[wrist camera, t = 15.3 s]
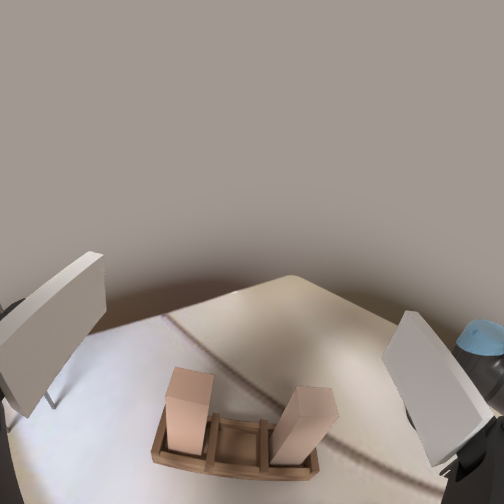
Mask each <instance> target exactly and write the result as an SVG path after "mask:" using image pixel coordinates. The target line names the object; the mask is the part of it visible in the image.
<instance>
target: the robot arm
mask: <svg viewBox="0 0 504 504" xmlns="http://www.w3.org/2000/svg"><path fill="white" fill-rule="evenodd" d="M106 310H107V309H106V297H105V282H104V255H102V254H98V253H94V252H90V251H89V252H87V253H86V254H84V255H83V256H81V257H80V258H79V259H77V260H76V261H74V262H73V263H72V264H70V265H69V266H68V267H66V268H65V269H63V270H62V271H61V272H59V273H58V274H57V275H55V276H54V277H53V278H52V279H50V280H49V281H48V282H46V283H45V284H44V285H42V286H41V287H40V288H39V289H38V290H36V291H35V292H34V293H32V294H31V295H30V296H29V297H28V298H26V299H25V298H24V299H22V300H19V301H17V302H15V303H13V304H12V305H10V306H9V307H8V308H7V309H6V310H4V313H1V314H0V504H24V501H23V498H22V495H21V492H20V489H19V485H18V482H17V478H16V475H15V471H14V467H13V462H12V458H11V453H10V448H9V442H8V436H7V430H6V422H5V413H4V407H3V404H2V402H1V401H2V400H3V398H4V397H5V398H6V399H7V401H8V402H9V404H10V406H11V407H12V408H13V409H14V410H16V411H17V412H19V413H20V414H22V415H23V416H25V417H26V418H29V416H30V415H31V413H32V412H33V410H34V408H35V407H36V405H37V404H38V402H39V401H40V399H41V398H42V396H43V395H44V393H45V392H46V390H47V389H48V387H49V386H50V385H51V383H52V382H53V380H54V379H55V377H56V376H57V375H58V373H59V372H60V370H61V369H62V368H63V366H64V365H65V364H66V362H67V361H68V359H69V358H70V357H71V355H72V354H73V353H74V351H75V350H76V349H77V347H78V346H79V345H80V344H81V342H82V341H83V340H84V338H85V337H86V336H87V335H88V333H89V332H90V331H91V329H92V328H93V327H94V326H95V324H96V323H97V322H98V321H99V319H100V318H101V317H102V316H103V315H104V313H105V312H106ZM381 358H382V360H383V361H384V363H385V365H386V367H387V369H388V371H389V373H390V375H391V377H392V379H393V381H394V383H395V385H396V387H397V389H398V391H399V394H400V396H401V398H402V400H403V402H404V404H405V406H406V408H407V415H408V418H409V421H410V423H411V424H412V426H413V427H414V428H415V429H416V430H417V433H418V435H419V437H420V440H421V442H422V444H423V447H424V449H425V452H426V454H427V457H428V459H429V462H430V464H431V467H434V466H437V465H440V464H443V463H445V462H446V461H448V460H449V459H450V458H451V457H452V456H453V455H455V454H457V456H458V458H457V459H455V460H454V461H453V462H452V463H451V464H449V465H448V466H447V467H446V468H444V469H443V470H442V471H441V472H440V474H439V475H440V476H441V475H443V474H444V473H445V472H447V471H448V470H451V471H449V472H448V473H447V474H446V475H445V476H444V477H446V478H448V482H447V485H446V489H445V492H444V495H443V499H442V502H441V504H504V327H503V326H501V325H499V324H497V323H494V322H492V321H488V320H481V319H477V320H474V321H471V322H470V323H469V324H468V325H467V326H466V328H465V330H464V331H463V333H462V334H461V336H460V337H459V338H458V339H457V343H456V345H455V347H454V348H453V350H452V351H451V353H450V351H449V350H448V349H447V348H446V346H445V345H444V344H443V342H442V341H441V340H440V338H439V337H438V336H437V335H436V333H435V332H434V331H433V330H432V329H431V327H430V326H429V325H428V324H427V323H426V321H425V320H424V319H423V318H422V317H421V316H420V314H419V313H418V312H414V311H405V313H404V315H403V317H402V319H401V321H400V323H399V325H398V327H397V329H396V331H395V333H394V335H393V337H392V339H391V341H390V342H389V344H388V346H387V348H386V350H385V351H384V353H383V355H382V357H381ZM487 404H488V405H489V406H491V407H492V408H493V409H495V410H496V411H497V412H499V413H500V414H502V415H503V416H500V417H498V419H497V418H496V417H495V416H494V414H493V413H492V411H491V409H490V408H489V406H488V405H487Z"/></svg>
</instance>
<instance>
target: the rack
mask: <svg viewBox="0 0 504 504" xmlns="http://www.w3.org/2000/svg"><path fill="white" fill-rule="evenodd" d="M219 417H220V414H217V413H213V416H207V422H206V428H205V434H204V440H203V446H202V452H201V458H199V457H194V456H189V455H184V454H179V453H175V452H171V451H169V450H168V438H167V422H166V404H165V407H164V410H163V413H162V416H161V420H160V423H159V426H158V429H157V433H156V436H155V440H154V443H153V446H152V450H151V454H152V459H153V463H157V464H161V465H165V466H169V467H173V468H177V469H182V470H186V471H191V472H197V473H202V474H208V475H215V476H222V477H230V478H239V479H251V480H269V481H305V480H310V479H311V478H312V477H313V476H314V475H315V474H317V473H318V472H319V464H318V457H317V451H316V447H315V448H314V449H313V450H312V452H311V453H310V454H309V455H308V456H307V457H306V459H305V460H304V461H303V462H302V463H301V464H300V465H299V466H269V464H268V440H269V438H270V437H271V435H272V433H273V431H274V429H275V427H276V426H277V424H267V420H260V422H259V423H256V422H247V421H239V420H232V419H225V418H219Z"/></svg>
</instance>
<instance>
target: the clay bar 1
mask: <svg viewBox="0 0 504 504" xmlns="http://www.w3.org/2000/svg"><path fill="white" fill-rule="evenodd" d="M213 380H214V375H212V374H206V373H201V372H197V371H192V370H187V369H183V368H179V367H175V368H174V371H173V374H172V377H171V380H170V383H169V386H168V389H167V392H166V395H165V400H166V422H167V438H168V450H169V451H171V452H175V453H179V454H184V455H189V456H194V457H199V458H201V452H202V446H203V440H204V434H205V428H206V422H207V416H208V410H209V404H210V398H211V392H212V386H213Z"/></svg>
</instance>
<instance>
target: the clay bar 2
mask: <svg viewBox="0 0 504 504" xmlns="http://www.w3.org/2000/svg"><path fill="white" fill-rule="evenodd" d="M338 417H339V414H338V410H337V406H336V403H335V399H334V395H333V391H332V388H318V387H303V386H296V388H295V390H294V392H293V394H292V396H291V398H290V400H289V402H288V404H287V406H286V408H285V410H284V412H283V414H282V416H281V418H280V420H279V422H278V424H277V426H276V427H275V429H274V431H273V433H272V435H271V437H270V438H269V440H268V464H269V466H299V465H300V464H301V463H302V462H303V461H304V460H305V459H306V457H307V456H308V455H309V454H310V453H311V452H312V450H313V449H314V448H315V447H316V446H317V444H318V443H319V442H320V441H321V439H322V438H323V437H324V436H325V434H326V433H327V432H328V431H329V429H330V428H331V427H332V425H333V424H334V423H335V421H336V420H337V419H338Z"/></svg>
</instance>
